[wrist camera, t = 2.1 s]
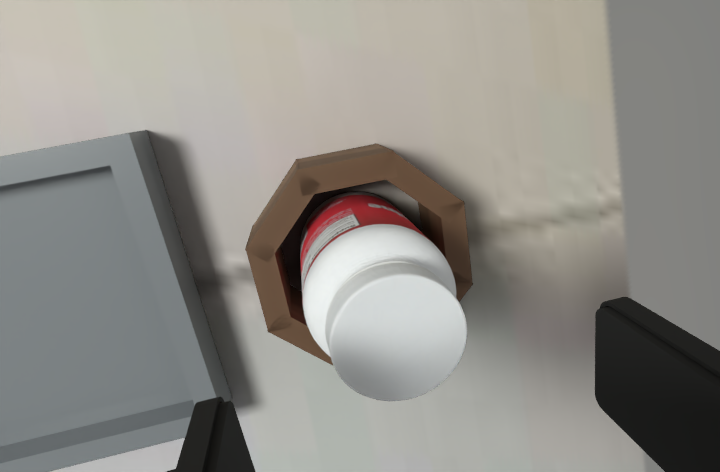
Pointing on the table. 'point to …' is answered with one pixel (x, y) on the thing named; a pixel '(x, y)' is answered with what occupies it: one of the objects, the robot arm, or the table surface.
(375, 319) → the pill bottle
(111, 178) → the tray
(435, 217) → the holder ring
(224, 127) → the table surface
